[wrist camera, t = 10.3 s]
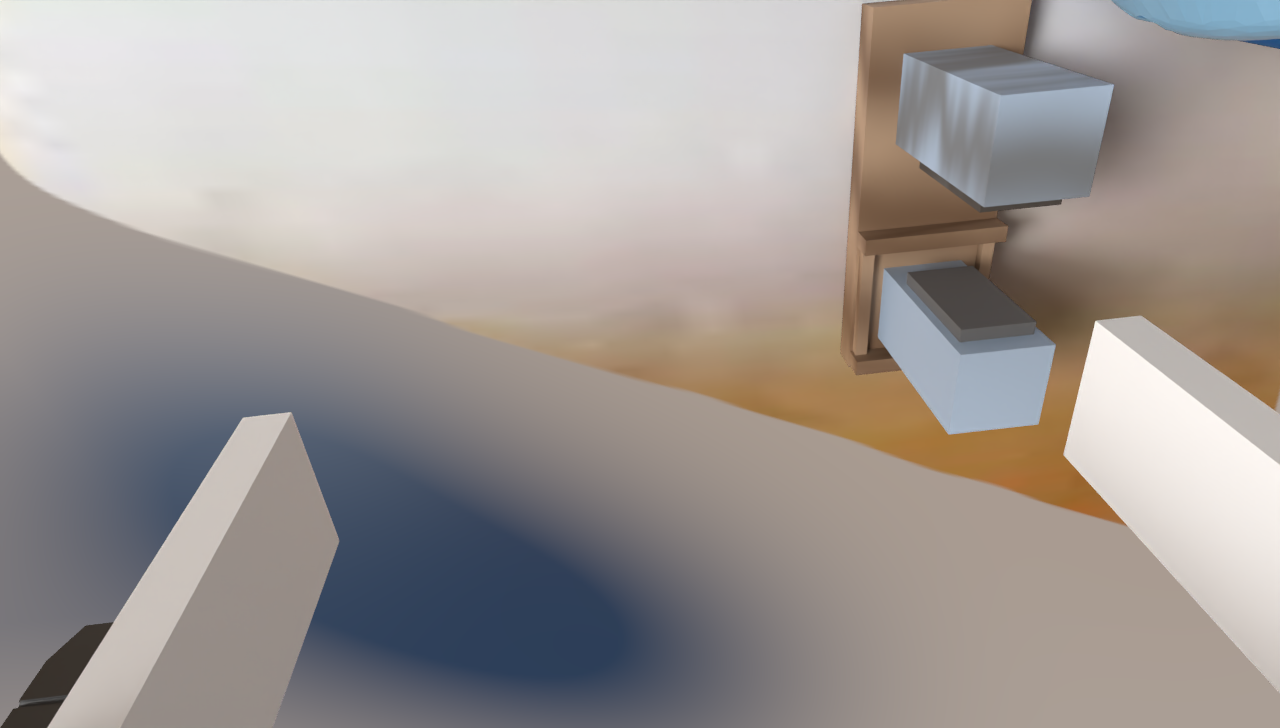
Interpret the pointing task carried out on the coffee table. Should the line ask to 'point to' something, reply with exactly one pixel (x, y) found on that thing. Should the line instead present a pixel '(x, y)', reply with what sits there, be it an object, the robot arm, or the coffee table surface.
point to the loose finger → (964, 346)
